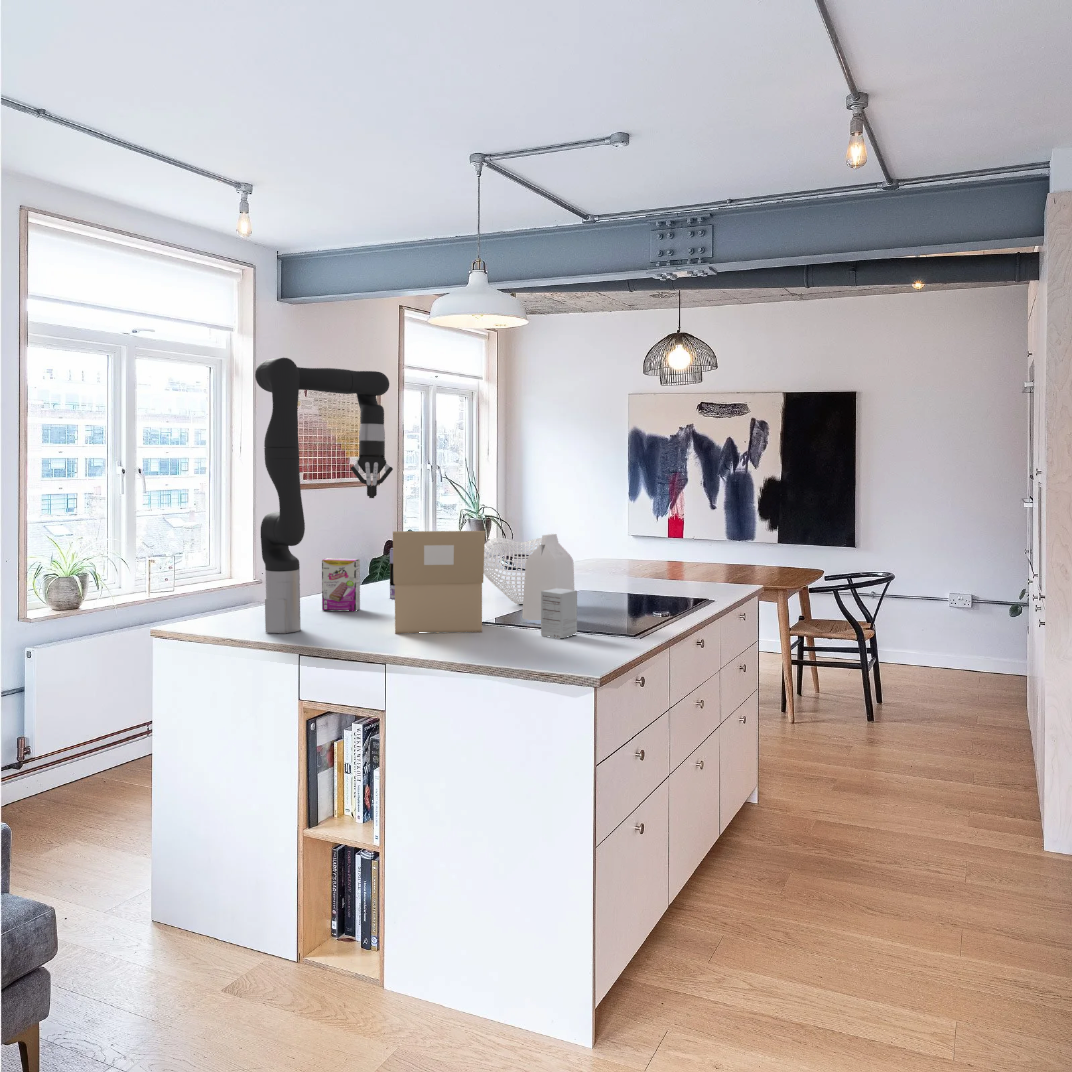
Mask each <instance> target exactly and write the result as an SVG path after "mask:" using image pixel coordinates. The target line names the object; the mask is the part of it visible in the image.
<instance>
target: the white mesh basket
mask: <svg viewBox="0 0 1072 1072" xmlns="http://www.w3.org/2000/svg"><path fill="white" fill-rule="evenodd" d="M541 541H542V537H540V538H538V537H537V538H534V539H532V540H531V539H530V540H528V541H523V542H522V541H516V540H513V539H509V538H505V537H494V538H492V539H489V540H488V541H486V542H485V545H484V575H483V576H485V577H486V579H487V580H488V581H490V582H491V584H493V585H494V586H495V587H496V588H497V589H498V590H499V591H500V592H501V593H503V594H504V596H506V597H507V598H508V599H509V600H510V601H511V602H513V603H514V604H516V605H518V604H523V597H524V587H523V586H524V583H523V582H524V580H525V579H523V578H525V575H523V574H525V570H523V569H525V566H523V564H524V565H525V564H526V560H527V558H528V557H529V556H530V555H531V553H533V552H534V551H535V550H536V549H537V548H538V547H539V546H540V545H541ZM531 549H532V550H531ZM519 550H520V551H519ZM527 550H528V551H527ZM503 551H504V552H503ZM487 553H488V554H487ZM511 553H512V554H511ZM515 554H516V555H515ZM519 554H520V556H519ZM523 554H524V556H523ZM527 554H528V555H527ZM494 555H495V557H494ZM503 556H504V558H503ZM507 556H508V559H507ZM511 557H512V559H511ZM494 559H495V560H494ZM515 559H516V560H515ZM519 559H520V561H519ZM523 559H524V561H523ZM498 560H499V562H498ZM502 560H503V561H504V562H503V563H502ZM506 561H507V564H506ZM510 562H511V563H512V564H511V565H510ZM514 563H516V566H515V565H514ZM518 564H520V566H518ZM497 565H498V566H497ZM501 566H502V568H501ZM505 567H506V569H505ZM509 568H511V570H509ZM513 568H515V570H513ZM518 569H520V571H519V570H518ZM500 571H501V573H500ZM504 572H505V574H504ZM508 573H510V575H509V574H508ZM513 573H515V575H513ZM518 573H519V574H520V575H518ZM502 577H504V578H502ZM507 577H508V578H509V579H507ZM512 578H514V579H512ZM518 578H520V579H518ZM507 582H509V583H507ZM513 582H514V583H513ZM518 582H520V583H518ZM513 586H514V587H513ZM518 586H520V587H518ZM519 590H520V591H519Z"/></svg>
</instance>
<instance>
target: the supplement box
mask: <svg viewBox="0 0 1072 1072" xmlns="http://www.w3.org/2000/svg"><path fill="white" fill-rule="evenodd" d="M576 632H577V633H578V590H575V589H574V590H569V589H560V588H555V589H550V590H545V591H541V625H540V635H541V637H544V636H550V637H556V638H564V637H567V636H571V635H573V634H575V633H576ZM550 637H549V638H550ZM556 638H555V639H556ZM564 639H565V638H564Z"/></svg>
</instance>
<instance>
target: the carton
mask: <svg viewBox="0 0 1072 1072" xmlns="http://www.w3.org/2000/svg"><path fill="white" fill-rule="evenodd" d="M419 632H471V633H483V583H442V584H395V599H394V634H395V635H402V634H401V633H419ZM419 634H420V633H419Z"/></svg>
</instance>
